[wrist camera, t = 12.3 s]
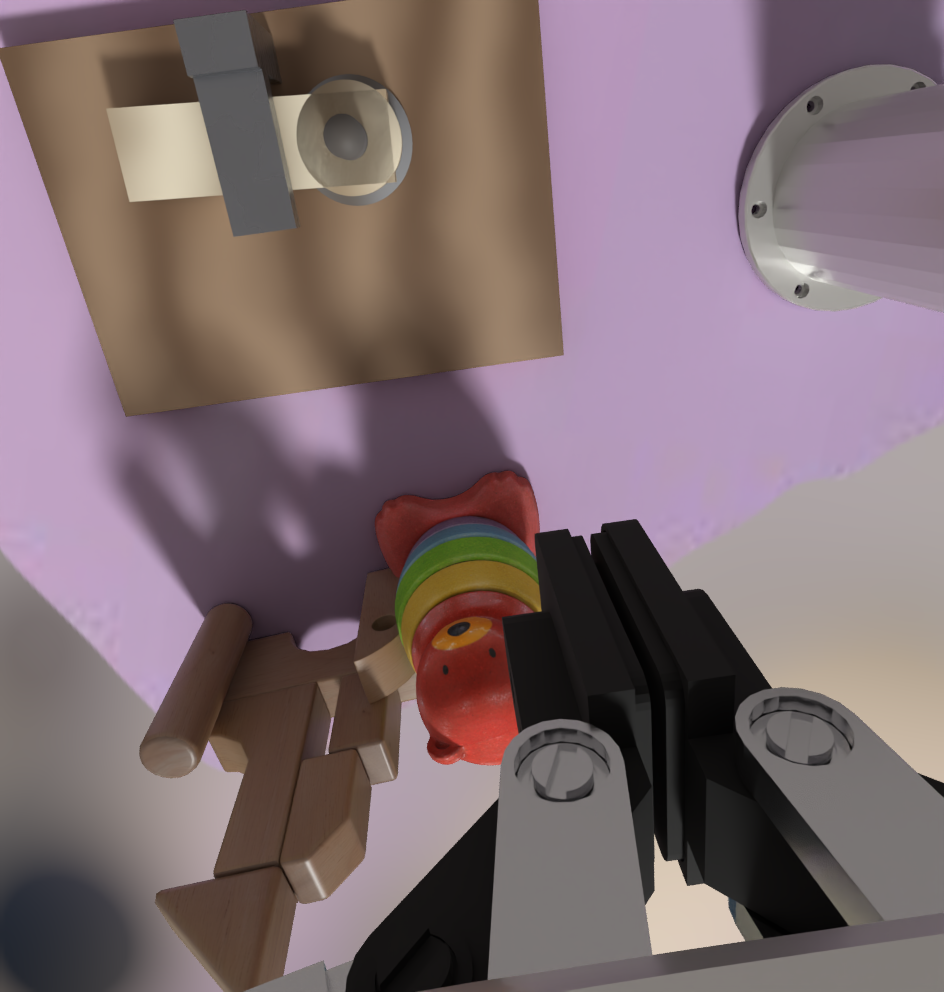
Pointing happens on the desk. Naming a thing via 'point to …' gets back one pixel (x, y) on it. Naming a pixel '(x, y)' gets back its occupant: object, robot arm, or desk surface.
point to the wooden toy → (280, 773)
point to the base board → (313, 210)
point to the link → (305, 136)
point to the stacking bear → (463, 606)
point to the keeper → (241, 117)
